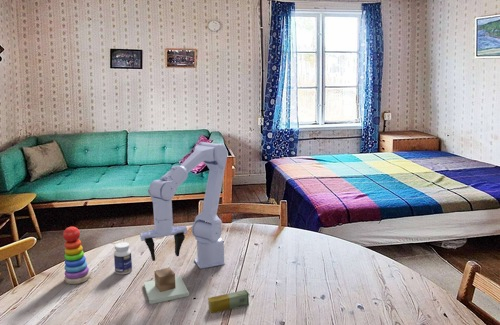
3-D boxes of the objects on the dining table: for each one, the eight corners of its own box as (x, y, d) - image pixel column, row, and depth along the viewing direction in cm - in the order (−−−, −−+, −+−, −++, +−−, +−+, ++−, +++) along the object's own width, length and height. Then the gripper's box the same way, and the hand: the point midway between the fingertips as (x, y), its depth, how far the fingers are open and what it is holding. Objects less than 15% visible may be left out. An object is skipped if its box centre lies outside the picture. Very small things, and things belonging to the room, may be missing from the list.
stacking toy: (79, 271, 144) (74, 221, 140) (95, 277, 140) (90, 225, 137) (59, 281, 138) (53, 228, 134) (75, 287, 134) (69, 233, 130)
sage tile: (180, 278, 139) (180, 275, 139) (188, 295, 128) (188, 292, 128) (143, 285, 135) (143, 282, 135) (149, 304, 124) (149, 300, 124)
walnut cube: (170, 281, 135) (169, 267, 134) (175, 288, 131) (174, 273, 130) (155, 285, 133) (154, 271, 131) (160, 292, 128) (159, 277, 127)
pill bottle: (127, 275, 141) (125, 248, 139) (112, 274, 142) (110, 247, 140) (135, 268, 147) (133, 242, 145) (120, 266, 148) (118, 240, 146)
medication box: (246, 301, 126) (245, 289, 125) (249, 305, 123) (249, 293, 122) (208, 309, 121) (207, 297, 121) (210, 314, 119) (210, 301, 118)
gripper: (182, 210, 137) (184, 248, 139) (137, 216, 131) (140, 256, 134) (188, 217, 130) (189, 256, 133) (141, 224, 124) (144, 265, 127)
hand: (165, 257), depth 133 cm, fingers open, 7 cm apart
